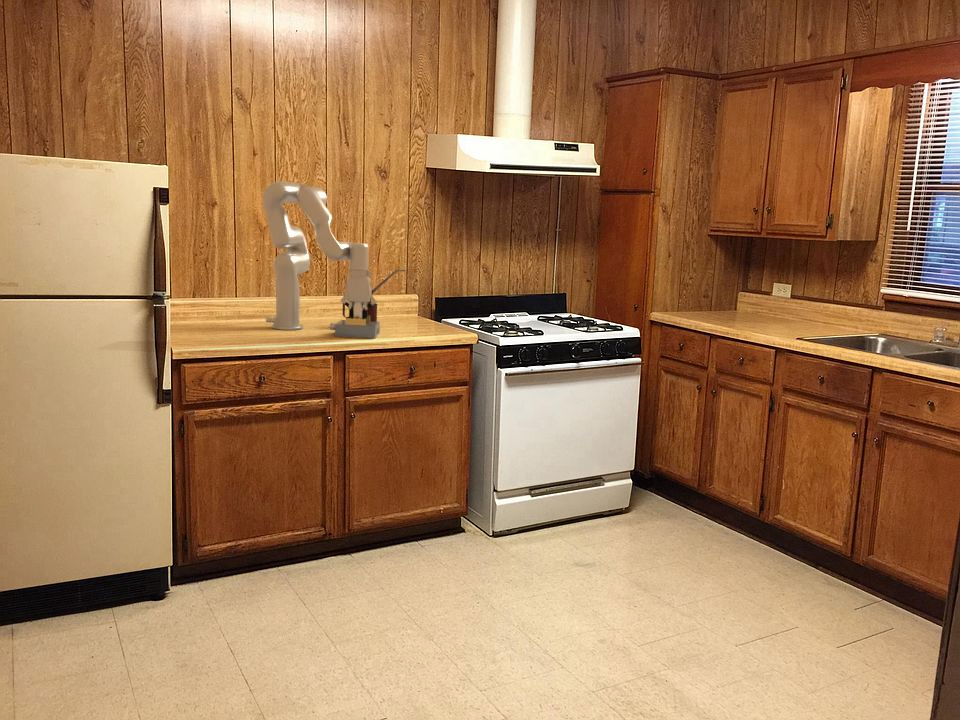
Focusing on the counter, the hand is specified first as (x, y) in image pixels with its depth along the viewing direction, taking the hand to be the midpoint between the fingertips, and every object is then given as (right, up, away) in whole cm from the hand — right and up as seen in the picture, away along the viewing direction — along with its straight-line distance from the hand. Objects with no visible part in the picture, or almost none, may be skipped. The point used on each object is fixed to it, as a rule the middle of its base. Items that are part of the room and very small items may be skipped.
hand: (358, 318), depth 340 cm
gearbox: (-2, -7, +1) cm, 7 cm away
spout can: (0, -4, +1) cm, 4 cm away
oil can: (+3, -2, +27) cm, 27 cm away
